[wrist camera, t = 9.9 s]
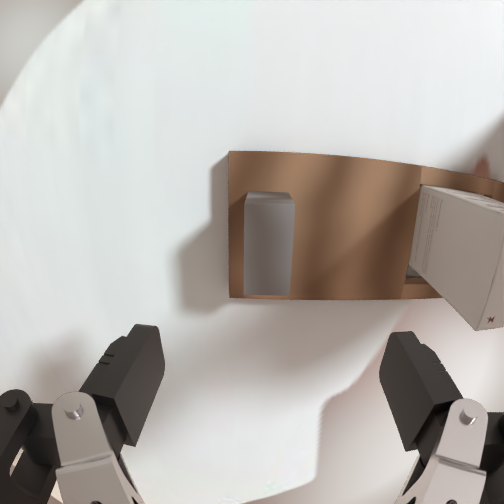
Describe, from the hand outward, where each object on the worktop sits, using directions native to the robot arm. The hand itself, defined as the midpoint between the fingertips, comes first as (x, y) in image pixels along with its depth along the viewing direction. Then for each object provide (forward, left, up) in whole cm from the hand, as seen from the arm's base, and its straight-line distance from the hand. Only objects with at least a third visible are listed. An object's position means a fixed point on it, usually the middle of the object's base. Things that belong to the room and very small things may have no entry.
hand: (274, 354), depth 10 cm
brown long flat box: (-10, 0, -16) cm, 19 cm away
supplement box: (-16, -1, -17) cm, 23 cm away
